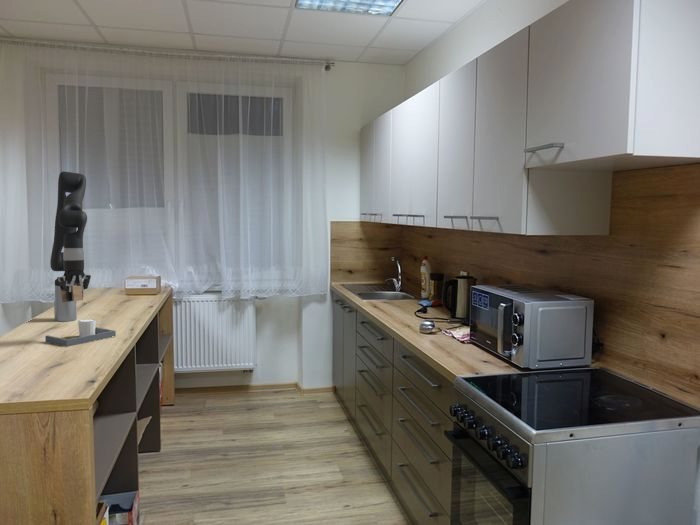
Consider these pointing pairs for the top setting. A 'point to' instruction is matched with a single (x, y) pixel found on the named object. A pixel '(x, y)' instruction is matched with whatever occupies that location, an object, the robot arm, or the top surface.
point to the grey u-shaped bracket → (74, 341)
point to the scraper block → (73, 294)
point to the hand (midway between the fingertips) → (74, 300)
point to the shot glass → (86, 327)
